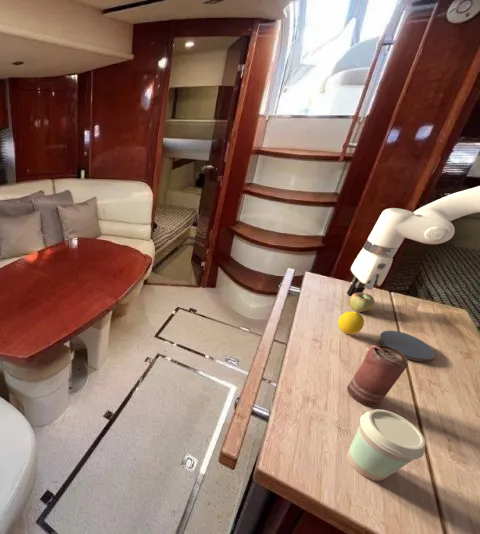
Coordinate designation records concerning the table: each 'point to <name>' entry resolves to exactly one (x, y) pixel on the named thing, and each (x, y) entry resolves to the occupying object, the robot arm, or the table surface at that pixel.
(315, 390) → the table surface
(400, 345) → the plate
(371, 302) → the apple
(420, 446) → the coffee cup
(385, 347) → the can
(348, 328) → the lemon
